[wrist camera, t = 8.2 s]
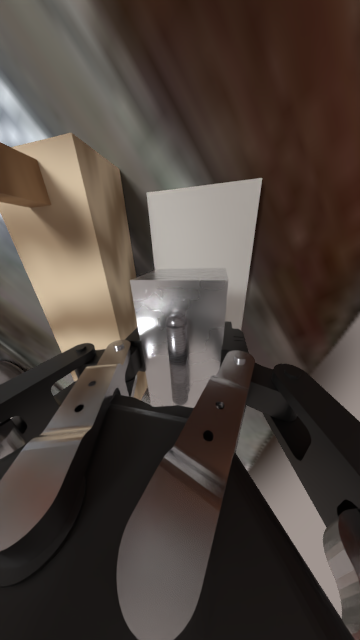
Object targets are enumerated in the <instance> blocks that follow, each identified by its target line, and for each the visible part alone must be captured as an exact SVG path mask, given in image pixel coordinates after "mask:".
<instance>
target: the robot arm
mask: <svg viewBox="0 0 360 640" xmlns="http://www.w3.org/2000/svg"><path fill="white" fill-rule="evenodd" d="M74 370H75V373H76V375H77V378H78V380H76V381H75V382H74V383H72V384H71V385H69V386H68V387H66V388H65V389H63V390H62V391H61V392H59V393H58V394H56V395H55V396H53V395H52V393H51V387H52V385H53V384H54V383H55V382H56V381H58V380H60V379H61V378H63V377H64V376H66V375H68V374H69V373H71V372H72V371H74ZM138 371H142V372H145V371H146V368H145V362H144V356H143V350H142V344H141V340H140V337H139V331H138V327H137V328H136V329H135V330H134V331H133V332H132V333H131V334H130V335H129V336H128V337H127V338H126V339H125V340H117V341H114V342H112V343H110V344H109V345H108V346H107V348H106V349H102V350H95V347H94V345H93V344H92V343H83V344H79V345H77V346H75V347H73V348H71V349H69V350H67V351H65V352H63V353H61V354H59V355H57V356H55V357H53V358H51V359H49V360H47V361H45V362H43V363H41V364H40V365H38V366H36V367H34V368H32V369H30V370H28V371H26V372H24V373H22V374H20V375H18V376H16V377H14V378H12V379H10V380H8V381H7V382H5V383H3V384H1V385H0V640H360V422H359V421H358V420H357V419H356V418H355V417H354V416H353V415H352V414H351V413H350V412H348V411H347V410H346V409H345V408H344V407H343V406H342V405H341V404H340V403H339V402H338V401H336V400H335V399H334V398H333V397H332V396H331V395H330V394H329V393H328V392H326V391H325V390H324V389H323V388H322V387H321V386H320V385H319V384H318V383H317V382H316V381H315V380H314V379H313V378H311V377H310V376H309V375H308V374H307V373H306V372H305V371H303V370H302V369H300V368H298V367H296V366H293V365H289V364H278V365H276V366H275V367H274V369H270V368H266V367H263V366H261V365H259V364H257V363H255V360H254V358H253V357H252V356H251V355H250V354H249V353H248V349H247V346H246V342H245V338H244V335H243V332H242V331H241V330H239V329H233V328H232V323H231V322H229V321H225V326H224V337H223V348H221V359H220V369H219V371H218V373H217V375H216V376H211V377H210V379H209V381H208V383H207V385H206V387H205V388H204V390H203V392H202V394H201V396H200V398H199V400H198V401H197V403H196V405H195V407H194V408H190V407H185V406H179V405H175V406H159V407H153V406H151V405H149V404H147V403H145V402H143V401H141V400H139V399H137V398H135V397H134V393H135V388H136V383H137V373H138ZM246 405H247V406H250V407H252V408H254V409H256V410H259V411H261V412H263V414H264V417H265V418H266V420H267V422H268V424H269V426H270V427H271V429H272V431H273V433H274V434H275V436H276V438H277V439H278V442H279V443H280V445H281V447H282V449H283V450H284V452H285V454H286V456H287V458H288V459H289V461H290V463H291V465H292V466H293V468H294V470H295V472H296V474H297V475H298V477H299V479H300V481H301V483H302V484H303V486H304V488H305V490H306V491H307V493H308V495H309V497H310V499H311V500H312V502H313V504H314V506H315V507H316V509H317V511H318V513H319V515H320V516H321V518H322V520H323V522H324V524H325V525H326V527H327V528H326V530H325V532H324V535H323V545H324V551H325V555H326V558H327V561H328V564H329V566H330V568H331V571H332V573H333V576H334V578H335V580H336V583H337V587H338V590H339V594H340V598H341V605H342V619H341V618H340V616H339V614H338V613H337V611H336V610H335V608H334V607H333V605H332V603H331V602H330V600H329V599H328V597H327V596H326V594H325V592H324V591H323V589H322V588H321V586H320V585H319V583H318V581H317V580H316V578H315V577H314V575H313V574H312V572H311V571H310V569H309V567H308V566H307V564H306V563H305V561H304V560H303V558H302V556H301V555H300V553H299V552H298V550H297V549H296V547H295V545H294V544H293V543H292V541H291V539H290V538H289V536H288V535H287V533H286V531H285V530H284V528H283V527H282V525H281V524H280V522H279V520H278V519H277V517H276V516H275V514H274V513H273V511H272V509H271V508H270V506H269V505H268V503H267V502H266V500H265V499H264V497H263V495H262V494H261V492H260V491H259V489H258V488H257V486H256V484H255V483H254V481H253V480H252V478H251V477H250V475H249V473H248V472H247V470H246V469H245V467H244V466H243V464H242V462H241V461H240V459H239V458H238V456H237V455H236V449H237V444H238V440H239V435H240V430H241V426H242V421H243V417H244V412H245V408H246ZM11 417H13V418H12V419H10V418H11Z"/></svg>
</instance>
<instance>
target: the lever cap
mask: <svg viewBox="0 0 360 640" xmlns="http://www.w3.org/2000/svg"><path fill="white" fill-rule="evenodd" d="M228 281H229V280H228V277H227V273H226V269H225V268H192V269H157V270H154V271H152V272H149V273H147V274H144V275H141V276H139V277H136V278H134V279H131V280H130V284H131V290H132V296H133V302H134V308H135V314H136V319H137V325H138V331H139V337H140V340H141V344H142V350H143V356H144V362H145V368H146V371H145V372H146V378H147V384H148V390H149V396H150V401H151V406H153V407H159V406H175V405H179V406H185V407H190V408H194V407H195V405H196V403H197V401H198V400H199V398H200V396H201V394H202V392H203V390H204V388H205V387H206V385H207V383H208V381H209V379H210V377H211V376H216V375H217V373H218V371H219V369H220V359H221V348H223V337H224V326H225V314H226V303H227V292H228Z"/></svg>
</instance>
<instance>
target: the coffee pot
mask: <svg viewBox="0 0 360 640" xmlns="http://www.w3.org/2000/svg"><path fill="white" fill-rule="evenodd" d="M22 373H24V372H23V371H22V370H21V369H20V368H19V367H18V366H16V365H14V364H12V363H10V362H7V361H0V385H1V384H3V383H5V382H7V381H8V380H10V379H12V378H14V377H16V376H18V375H20V374H22Z"/></svg>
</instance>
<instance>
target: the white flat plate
mask: <svg viewBox="0 0 360 640" xmlns="http://www.w3.org/2000/svg"><path fill="white" fill-rule="evenodd" d="M261 184H262V178H258V179H250V180H242V181H234V182H226V183H219V184H211V185H203V186H195V187H187V188H180V189H172V190H164V191H156V192H148V193H147V201H148V210H149V220H150V229H151V239H152V248H153V258H154V267H155V270H157V269H192V268H225V269H226V273H227V277H228V280H229V281H228V292H227V303H226V314H225V321H229V322H231V323H232V328H233V329H239V330H241V327H242V320H243V313H244V306H245V299H246V291H247V284H248V277H249V270H250V263H251V255H252V248H253V241H254V234H255V227H256V220H257V212H258V205H259V198H260V191H261Z"/></svg>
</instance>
